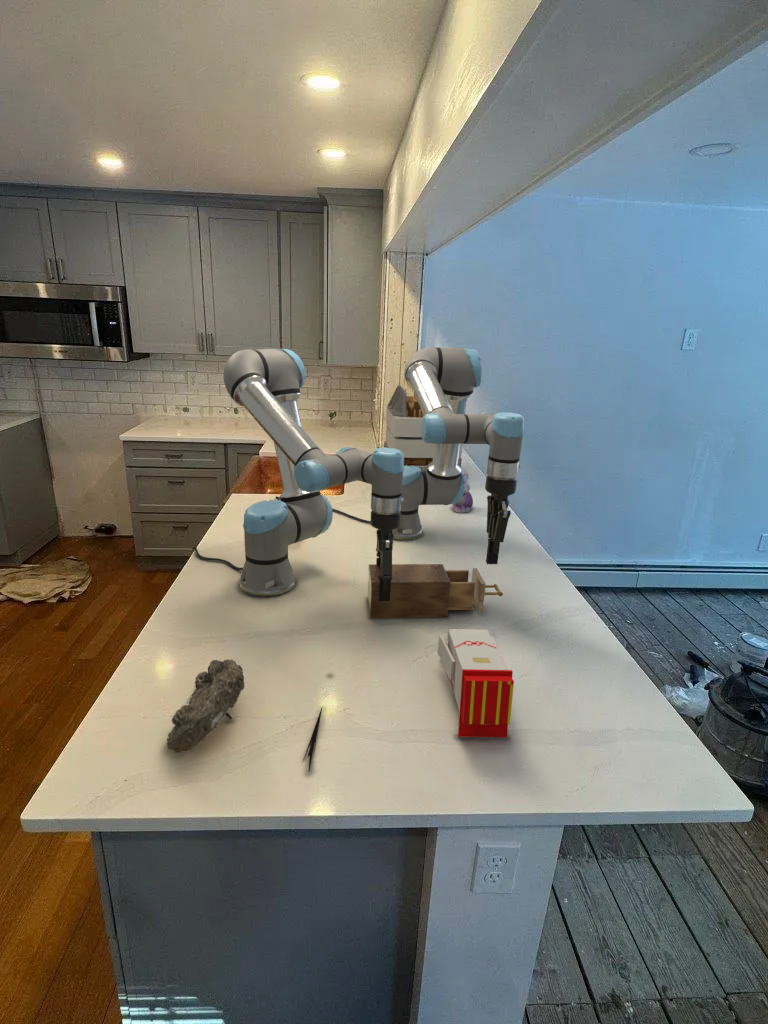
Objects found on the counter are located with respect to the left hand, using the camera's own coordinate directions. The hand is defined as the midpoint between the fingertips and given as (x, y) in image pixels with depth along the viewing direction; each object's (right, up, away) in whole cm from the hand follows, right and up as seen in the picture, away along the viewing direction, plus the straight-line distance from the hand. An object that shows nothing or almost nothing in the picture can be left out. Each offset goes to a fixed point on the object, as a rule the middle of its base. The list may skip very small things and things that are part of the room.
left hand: (382, 590), depth 148 cm
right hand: (+29, +7, 0) cm, 29 cm away
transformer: (+18, +39, +127) cm, 134 cm away
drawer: (+19, -4, +3) cm, 20 cm away
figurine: (+32, +21, +79) cm, 88 cm away
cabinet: (+6, -5, +2) cm, 8 cm away
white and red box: (+18, -17, -30) cm, 39 cm away
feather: (-12, -19, -40) cm, 46 cm away
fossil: (-32, -19, -40) cm, 55 cm away
